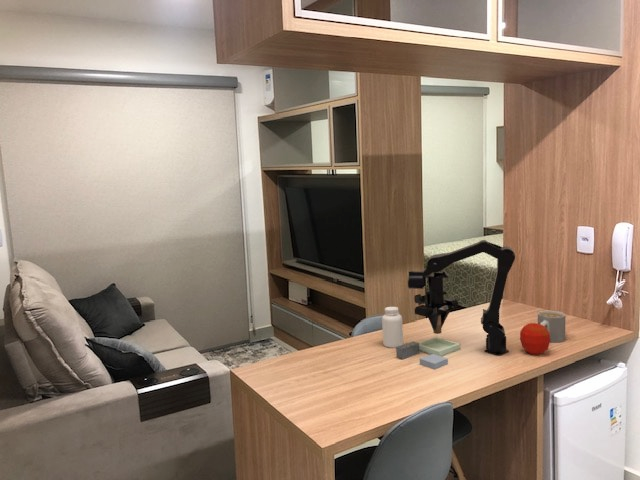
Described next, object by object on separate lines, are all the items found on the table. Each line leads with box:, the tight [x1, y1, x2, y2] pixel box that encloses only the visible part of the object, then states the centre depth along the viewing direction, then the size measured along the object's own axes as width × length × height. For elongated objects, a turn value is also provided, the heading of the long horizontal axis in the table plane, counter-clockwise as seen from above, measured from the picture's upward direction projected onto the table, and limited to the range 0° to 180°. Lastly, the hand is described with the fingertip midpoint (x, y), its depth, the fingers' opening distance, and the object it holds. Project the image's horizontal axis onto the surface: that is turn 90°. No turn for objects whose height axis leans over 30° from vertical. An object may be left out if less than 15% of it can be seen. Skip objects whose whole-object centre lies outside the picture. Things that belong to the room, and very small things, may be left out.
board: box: [418, 354, 449, 370], centre depth 188 cm, size 7×7×2 cm
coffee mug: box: [537, 310, 566, 344], centre depth 206 cm, size 13×10×10 cm
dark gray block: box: [395, 340, 420, 360], centre depth 198 cm, size 3×9×4 cm, turn 127°
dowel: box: [432, 314, 442, 335], centre depth 202 cm, size 3×3×7 cm
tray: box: [418, 336, 461, 357], centre depth 203 cm, size 12×12×2 cm
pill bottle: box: [381, 306, 404, 349], centre depth 210 cm, size 8×8×15 cm
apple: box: [519, 322, 551, 356], centre depth 194 cm, size 10×10×12 cm
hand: (437, 328), depth 202 cm, fingers closed on dowel, 3 cm apart
